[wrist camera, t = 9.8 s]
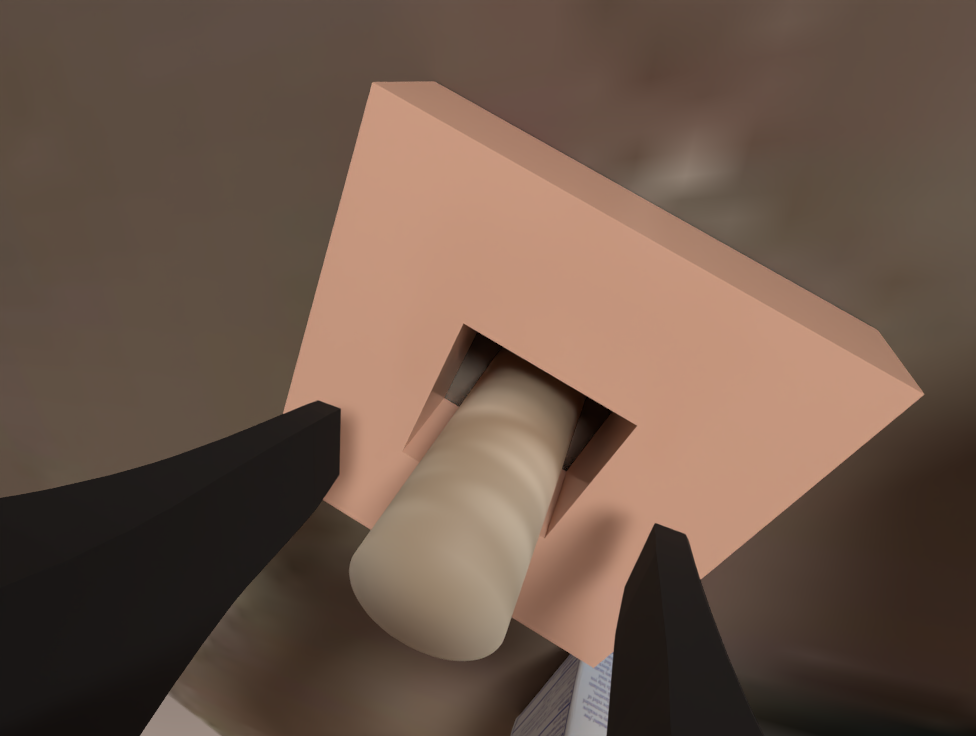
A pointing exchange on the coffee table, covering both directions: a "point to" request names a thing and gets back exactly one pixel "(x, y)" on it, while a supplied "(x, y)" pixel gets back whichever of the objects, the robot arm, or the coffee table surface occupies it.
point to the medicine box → (570, 702)
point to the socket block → (576, 349)
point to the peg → (470, 515)
